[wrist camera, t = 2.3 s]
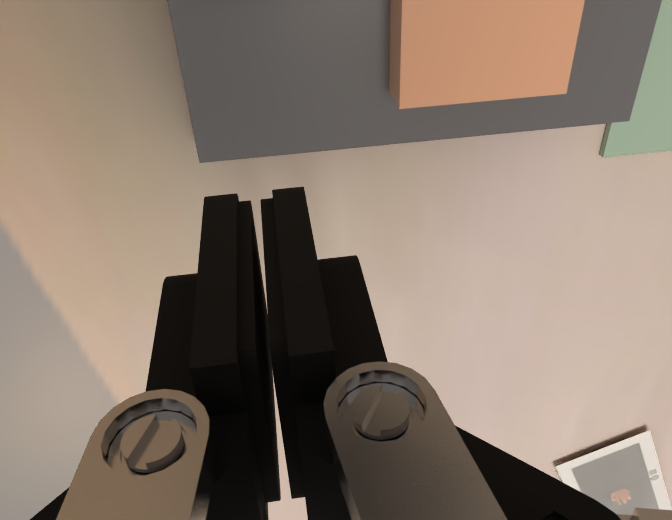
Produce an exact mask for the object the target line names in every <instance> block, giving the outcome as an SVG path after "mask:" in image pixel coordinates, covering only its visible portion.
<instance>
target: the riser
mask: <svg viewBox="0 0 672 520" xmlns="http://www.w3.org/2000/svg"><path fill="white" fill-rule="evenodd" d="M661 2H662V0H585V2H584V7H583V12H582V17H581V22H580V27H579V32H578V37H577V42H576V48H575V53H574V58H573V63H572V68H571V73H570V78H569V83H568V88H567V93H566V94H558V95H547V96H536V97H526V98H515V99H504V100H493V101H482V102H471V103H461V104H450V105H439V106H428V107H417V108H406V109H399V107H398V106H397V104H396V102H395V100H394V99H393V97H392V95H391V93H390V91H389V78H390V4H391V0H168V5H169V10H170V15H171V20H172V26H173V31H174V36H175V41H176V46H177V51H178V56H179V61H180V66H181V71H182V76H183V81H184V86H185V91H186V96H187V101H188V106H189V112H190V117H191V122H192V127H193V132H194V137H195V142H196V147H197V152H198V157H199V162H200V163H203V162H213V161H224V160H234V159H244V158H254V157H265V156H275V155H285V154H296V153H306V152H316V151H327V150H337V149H347V148H358V147H368V146H378V145H388V144H399V143H409V142H419V141H430V140H440V139H450V138H461V137H471V136H481V135H492V134H502V133H512V132H522V131H533V130H543V129H553V128H564V127H574V126H584V125H595V124H605V123H615V122H626V121H629V120H630V117H631V113H632V109H633V106H634V102H635V98H636V95H637V91H638V87H639V83H640V80H641V76H642V72H643V69H644V65H645V61H646V58H647V54H648V50H649V46H650V43H651V39H652V35H653V32H654V28H655V24H656V21H657V17H658V13H659V10H660V6H661Z"/></svg>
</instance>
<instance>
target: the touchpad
mask: <svg viewBox="0 0 672 520" xmlns="http://www.w3.org/2000/svg"><path fill="white" fill-rule="evenodd" d="M555 467H556V469H557V471H558V473H559V475H560V478H561V480H562V482H563V483H565V484H567V485H569V486H570V487H572V488H574V489H576V490H578V491H580V492H582V493H584V494H586V495H587V496H589V497H591V498H593V499H595V500H597V501H598V502H600V503H601V504H603V505H604V506H606V507H607V508H609V509H610V510H611V511H613V512H614V513H616V514H622V515H632V514H633V512H634V510H635V508H648V509H662V510H672V509H671V505H670V501H669V498H668V494H667V490H666V487H665V483H664V480H663V476H662V472H661V469H660V465H659V461H658V458H657V454H656V450H655V447H654V443H653V440H652V436H651V432H650V430H648V431H645V432H643V433H640V434H638V435H635V436H633V437H630V438H627V439H625V440H622V441H620V442H617V443H615V444H612V445H609V446H607V447H604V448H602V449H599V450H596V451H594V452H591V453H589V454H586V455H584V456H581V457H578V458H576V459H573V460H571V461H568V462H565V463H563V464H560V465H558V466H555Z"/></svg>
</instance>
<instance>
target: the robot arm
mask: <svg viewBox="0 0 672 520" xmlns="http://www.w3.org/2000/svg"><path fill="white" fill-rule="evenodd" d="M272 193H273V198H270V199H261V214H262V230H263V245H264V261H265V276H266V292H267V307H266V300H265V294H264V287H263V280H262V273H261V266H260V259H259V252H258V246H257V239H256V232H255V225H254V218H253V211H252V205H251V201H241V202H239V199H238V195H237V194H227V195H218V196H208V197H205V198H204V206H203V217H202V229H201V240H200V252H199V263H198V273H196V274H187V275H178V276H169V277H166V278H165V279H164V283H163V288H162V294H161V300H160V306H159V312H158V318H157V325H156V331H155V337H154V343H153V349H152V356H151V362H150V368H149V374H148V380H147V386H146V392H144V393H141V394H138V395H135V396H133V397H130V398H128V399H126V400H125V401H123V402H122V403H120V404H118V405H117V406H115V407H114V408H113V409H111V410H110V411H109V412H108V413H107V414H106V415H105V416H104V417H103V418H102V419H101V420H100V422H99V423H98V425H97V427H96V428H95V430H94V432H93V433H92V435H91V437H90V439H89V442H88V444H87V447H86V449H85V451H84V454H83V456H82V459H81V461H80V463H79V466H78V468H77V471H76V473H75V475H74V478H73V480H72V483H71V485H70V487H69V488H68V489H67V490H65V491H64V492H63V493H62V494H61V495H59V496H58V497H57V498H56V499H55V500H53V501H52V502H51V503H50V504H49V505H47V506H46V507H45V508H44V509H43V510H41V511H40V512H39V513H37V514H36V515H35V516H34V517H33V518H31V519H30V520H268V502H273V501H280V499H281V497H280V479H279V464H278V449H277V434H276V419H275V403H274V388H273V377H274V383H275V390H276V397H277V403H278V410H279V417H280V423H281V430H282V437H283V443H284V450H285V457H286V463H287V470H288V477H289V483H290V490H291V496H292V499H294V498H301V497H305V499H306V507H307V515H308V520H672V510H662V509H648V508H635V510H634V512H633V514H632V515H622V514H616V513H614V512H613V511H611V510H610V509H609V508H607V507H606V506H604V505H603V504H601V503H600V502H598V501H597V500H595V499H593V498H591V497H589V496H587V495H586V494H584V493H582V492H580V491H578V490H576V489H574V488H572V487H570V486H569V485H567V484H565V483H563V482H561V481H559V480H557V479H555V478H553V477H551V476H550V475H548V474H546V473H544V472H542V471H540V470H538V469H536V468H534V467H533V466H531V465H529V464H527V463H525V462H523V461H521V460H519V459H517V458H515V457H514V456H512V455H510V454H508V453H506V452H504V451H502V450H500V449H498V448H497V447H495V446H493V445H491V444H489V443H487V442H485V441H483V440H481V439H479V438H478V437H476V436H474V435H472V434H470V433H468V432H466V431H464V430H462V429H461V428H459V427H457V426H455V425H454V423H453V422H452V420H451V418H450V416H449V415H448V413H447V411H446V409H445V407H444V406H443V404H442V402H441V400H440V399H439V397H438V395H437V393H436V391H435V390H434V388H433V387H432V386H431V385H430V383H429V382H428V381H427V380H426V378H425V377H423V376H422V375H420V374H419V373H417V372H416V371H414V370H413V369H411V368H408V367H405V366H403V365H400V364H397V363H390V362H387V358H386V355H385V351H384V347H383V344H382V340H381V337H380V333H379V330H378V326H377V323H376V319H375V316H374V312H373V309H372V305H371V301H370V298H369V294H368V291H367V287H366V284H365V280H364V277H363V273H362V270H361V266H360V263H359V260H358V257H357V256H356V255H355V256H346V257H337V258H328V259H320V260H317V255H316V250H315V245H314V239H313V234H312V229H311V223H310V218H309V213H308V207H307V202H306V196H305V191H304V187H295V188H286V189H276V190H272ZM267 308H268V314H267ZM272 369H273V373H272Z"/></svg>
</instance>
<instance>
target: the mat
mask: <svg viewBox="0 0 672 520" xmlns="http://www.w3.org/2000/svg"><path fill="white" fill-rule="evenodd" d="M663 151H672V0H662V2H661V6H660V10H659V13H658V17H657V21H656V24H655V28H654V32H653V35H652V39H651V43H650V46H649V50H648V54H647V58H646V61H645V65H644V69H643V72H642V76H641V80H640V83H639V87H638V91H637V95H636V98H635V102H634V106H633V109H632V113H631V117H630V120H629V121H626V122H615V123H607V125H606V129H605V133H604V137H603V142H602V146H601V150H600V155H601V156H602V157H603V158H604V157H614V156H623V155H633V154H643V153H653V152H663Z"/></svg>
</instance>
